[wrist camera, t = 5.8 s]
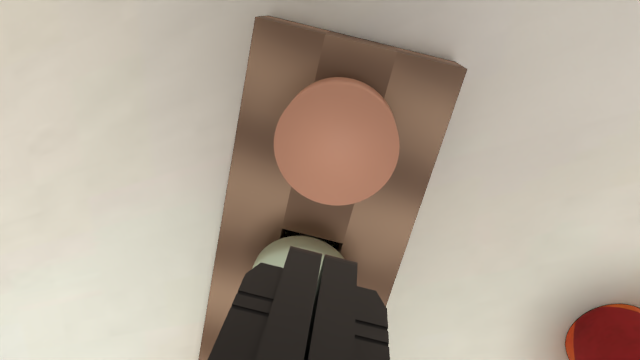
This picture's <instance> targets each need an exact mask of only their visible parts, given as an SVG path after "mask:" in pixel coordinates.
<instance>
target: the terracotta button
mask: <svg viewBox="0 0 640 360" xmlns="http://www.w3.org/2000/svg"><path fill="white" fill-rule="evenodd" d="M399 149H400V144H399V135H398V130H397V126H396V123H395V119H394V116H393V113H392V111H391V109H390V107H389V105H388V104H387V102H386V101H385V99H384V98H383V97H382V96H381V95H380V94H379V93H378V92H377V91H376V90H375V89H373V88H372V87H370V86H369V85H367V84H365V83H363V82H361V81H358V80H355V79H351V78H345V77H333V78H326V79H322V80H319V81H316V82H314V83H312V84H310V85H308V86H307V87H305V88H304V89H303V90H301V91H300V92H299V93H298V94H297V95H296V96H295V97H294V99H293V100H292V101H291V103H290V104H289V105H288V106H287V108H286V109H285V110H284V112H283V114H282V115H281V117H280V119H279V121H278V124H277V126H276V130H275V135H274V153H275V158H276V162H277V165H278V167H279V170H280V172H281V173H282V175H283V177H284V178H285V180H286V181H287V182H288V183H289V184H290V185H291V186H292V188H293V189H295V190H296V191H297V192H298V193H300V194H301V195H303V196H304V197H306V198H308V199H310V200H312V201H315V202H318V203H321V204H326V205H335V206H340V205H349V204H354V203H357V202H360V201H363V200H365V199H367V198H369V197H370V196H372V195H374V194H375V193H376V192H378V191H379V190H380V189H381V188H382V187H383V186H384V185H385V184H386V183H387V181H388V180H389V179H390V177H391V175H392V174H393V172H394V170H395V167H396V165H397V161H398V157H399Z"/></svg>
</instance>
